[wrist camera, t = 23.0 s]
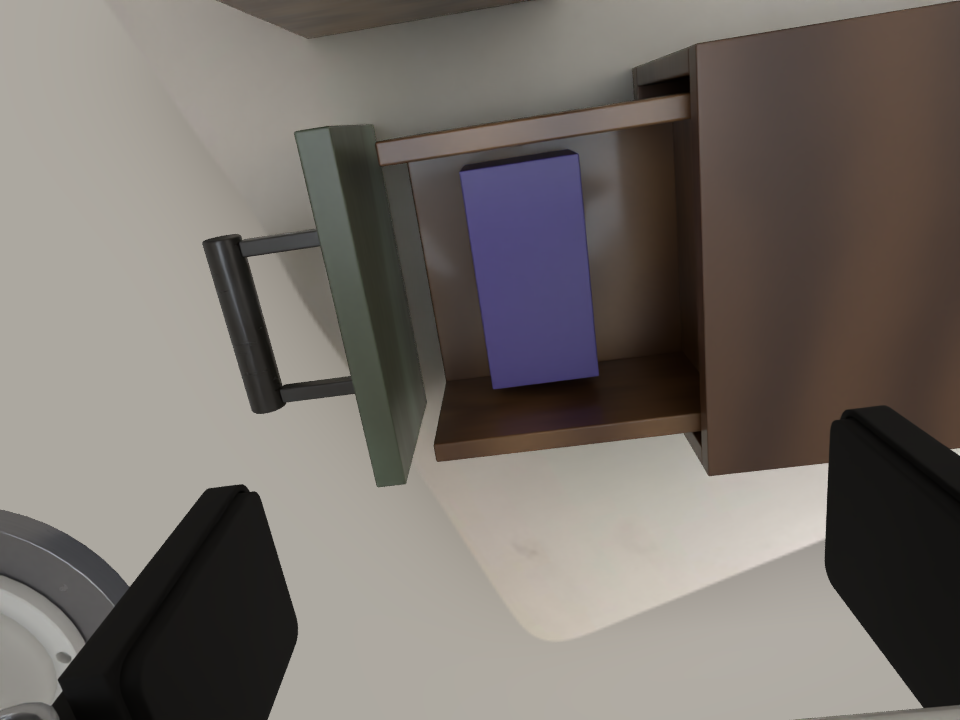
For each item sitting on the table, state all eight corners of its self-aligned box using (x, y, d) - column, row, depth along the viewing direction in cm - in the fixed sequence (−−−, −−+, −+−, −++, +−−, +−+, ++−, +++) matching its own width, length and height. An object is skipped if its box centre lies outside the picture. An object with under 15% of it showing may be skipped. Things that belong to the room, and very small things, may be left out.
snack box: (493, 361, 31) (492, 390, 27) (463, 165, 27) (458, 171, 24) (588, 348, 30) (599, 376, 27) (569, 148, 27) (578, 152, 24)
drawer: (310, 417, 33) (257, 502, 26) (238, 145, 29) (149, 154, 21) (693, 369, 32) (752, 444, 24) (683, 74, 27) (751, 57, 20)
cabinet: (651, 378, 33) (708, 476, 24) (632, 67, 28) (695, 43, 19) (972, 338, 32) (1160, 426, 23) (1013, 6, 27) (1275, -52, 18)
